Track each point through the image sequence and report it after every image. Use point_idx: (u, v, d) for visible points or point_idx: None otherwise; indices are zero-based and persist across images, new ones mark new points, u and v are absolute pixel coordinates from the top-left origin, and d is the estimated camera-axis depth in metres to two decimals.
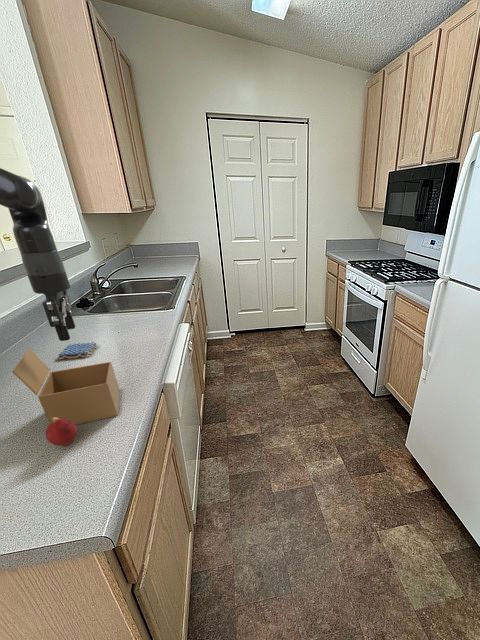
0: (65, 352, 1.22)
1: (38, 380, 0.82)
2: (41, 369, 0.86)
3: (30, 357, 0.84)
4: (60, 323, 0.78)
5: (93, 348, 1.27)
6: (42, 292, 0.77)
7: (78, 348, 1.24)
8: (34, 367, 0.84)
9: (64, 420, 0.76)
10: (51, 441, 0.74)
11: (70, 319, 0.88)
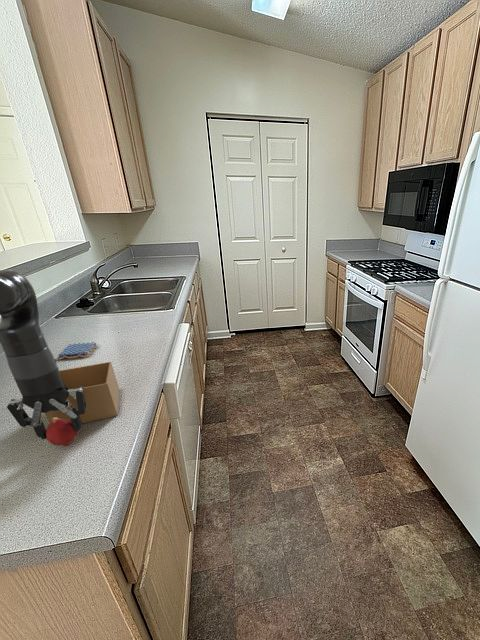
0: (65, 352, 1.22)
1: None
2: None
3: None
4: None
5: (93, 348, 1.27)
6: (60, 385, 0.71)
7: (78, 348, 1.24)
8: None
9: (64, 420, 0.76)
10: (51, 441, 0.74)
11: (43, 425, 0.75)
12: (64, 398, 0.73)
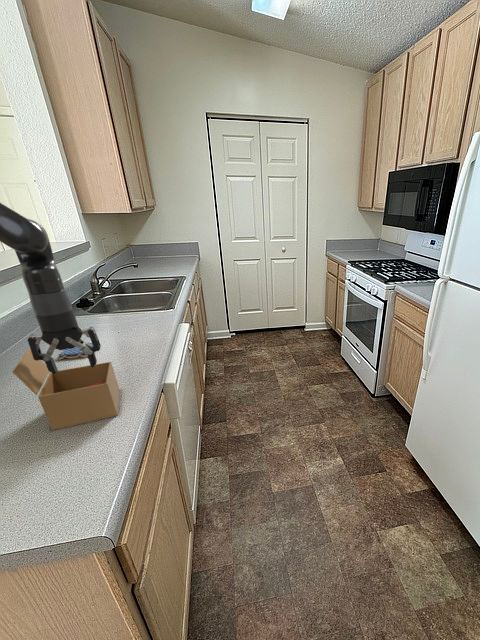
0: (65, 352, 1.22)
1: (38, 380, 0.82)
2: (41, 369, 0.86)
3: (30, 357, 0.84)
4: (100, 345, 0.87)
5: None
6: (75, 325, 0.81)
7: (78, 348, 1.24)
8: (34, 367, 0.84)
9: None
10: None
11: None
12: (78, 337, 0.83)
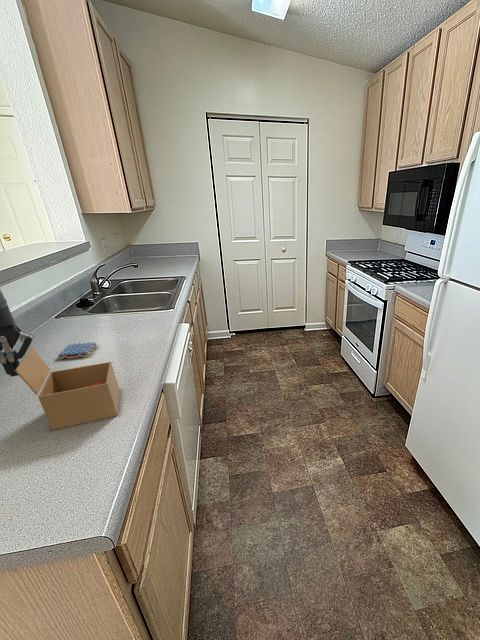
0: (65, 352, 1.22)
1: (39, 380, 0.82)
2: (42, 369, 0.86)
3: (32, 356, 0.84)
4: None
5: (93, 348, 1.27)
6: (10, 323, 0.76)
7: (78, 348, 1.24)
8: (35, 366, 0.84)
9: None
10: None
11: None
12: (15, 337, 0.77)
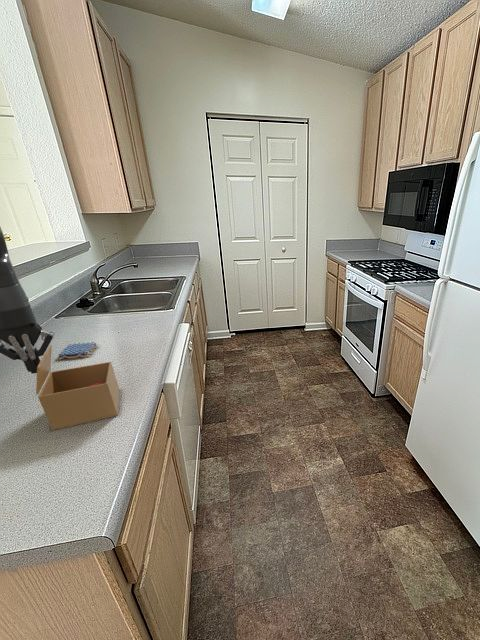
0: (65, 352, 1.22)
1: (43, 380, 0.83)
2: (48, 368, 0.87)
3: (48, 354, 0.86)
4: None
5: (93, 348, 1.27)
6: (32, 321, 0.77)
7: (78, 348, 1.24)
8: (46, 365, 0.85)
9: None
10: None
11: None
12: (36, 334, 0.79)
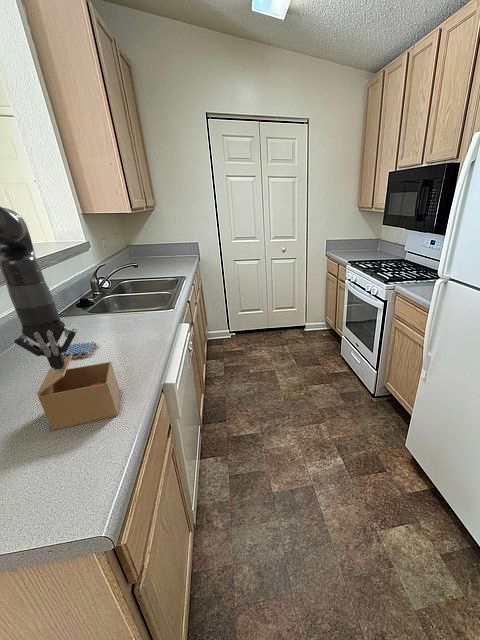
0: (65, 352, 1.22)
1: None
2: None
3: None
4: None
5: (93, 348, 1.27)
6: (56, 318, 0.79)
7: (78, 348, 1.24)
8: None
9: None
10: None
11: None
12: (60, 331, 0.81)
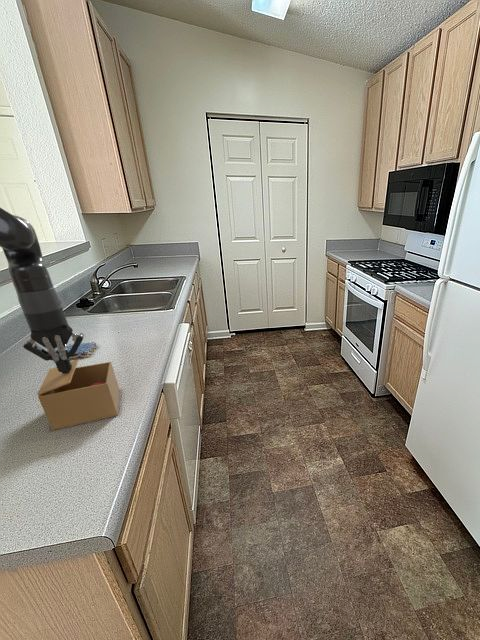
0: None
1: None
2: None
3: None
4: None
5: (93, 348, 1.27)
6: (64, 323, 0.80)
7: (78, 348, 1.24)
8: None
9: None
10: None
11: None
12: (68, 336, 0.82)
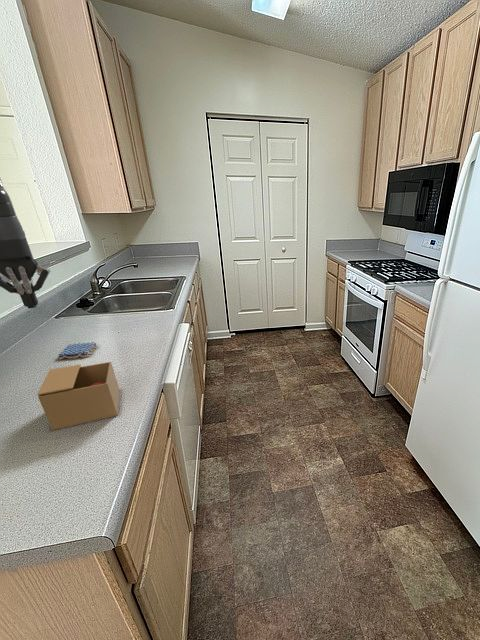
0: (65, 352, 1.22)
1: None
2: None
3: None
4: (41, 287, 0.86)
5: (93, 348, 1.27)
6: (28, 255, 0.81)
7: (78, 348, 1.24)
8: None
9: None
10: None
11: None
12: (32, 269, 0.82)
